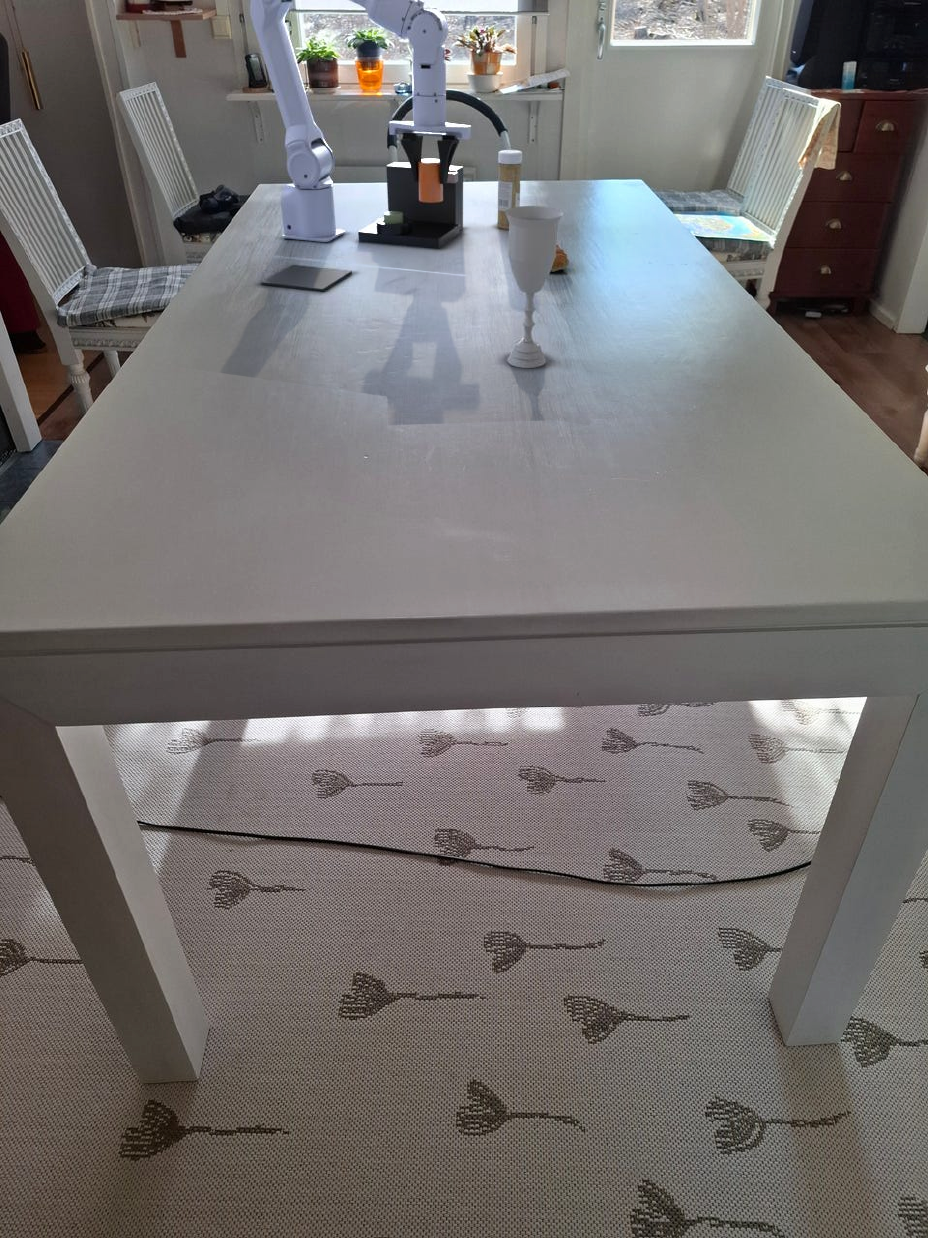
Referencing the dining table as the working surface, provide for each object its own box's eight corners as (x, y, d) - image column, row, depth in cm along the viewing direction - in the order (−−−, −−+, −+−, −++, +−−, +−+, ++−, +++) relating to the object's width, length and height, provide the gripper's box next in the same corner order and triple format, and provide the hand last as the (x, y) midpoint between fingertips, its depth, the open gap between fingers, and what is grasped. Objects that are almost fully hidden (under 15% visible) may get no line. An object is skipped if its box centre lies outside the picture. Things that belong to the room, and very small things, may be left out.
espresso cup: (415, 201, 157) (414, 161, 153) (423, 196, 161) (423, 157, 157) (438, 203, 156) (437, 163, 152) (446, 198, 160) (446, 159, 156)
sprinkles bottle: (523, 227, 172) (527, 151, 164) (505, 230, 170) (507, 153, 162) (510, 223, 175) (513, 148, 167) (491, 225, 173) (493, 150, 165)
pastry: (578, 270, 148) (580, 246, 146) (545, 276, 145) (547, 252, 143) (546, 257, 154) (547, 235, 152) (514, 263, 152) (515, 240, 149)
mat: (261, 284, 140) (261, 282, 140) (293, 267, 149) (293, 264, 149) (323, 291, 138) (322, 288, 137) (351, 273, 146) (351, 270, 146)
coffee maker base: (358, 242, 162) (356, 222, 160) (383, 227, 172) (382, 208, 170) (438, 249, 158) (438, 229, 156) (460, 234, 168) (460, 214, 166)
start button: (381, 224, 161) (380, 214, 160) (388, 220, 163) (388, 210, 162) (399, 226, 160) (398, 215, 159) (406, 221, 162) (405, 211, 161)
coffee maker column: (385, 229, 170) (382, 167, 164) (397, 222, 175) (395, 161, 169) (454, 236, 167) (454, 172, 160) (465, 228, 172) (465, 166, 165)
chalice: (497, 351, 117) (501, 206, 106) (547, 350, 117) (556, 205, 106) (504, 371, 111) (509, 220, 100) (556, 370, 111) (567, 219, 100)
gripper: (381, 94, 147) (384, 182, 155) (462, 98, 144) (461, 188, 152) (396, 90, 153) (399, 175, 161) (475, 94, 149) (473, 181, 157)
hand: (430, 181), depth 157 cm, fingers closed on espresso cup, 4 cm apart
